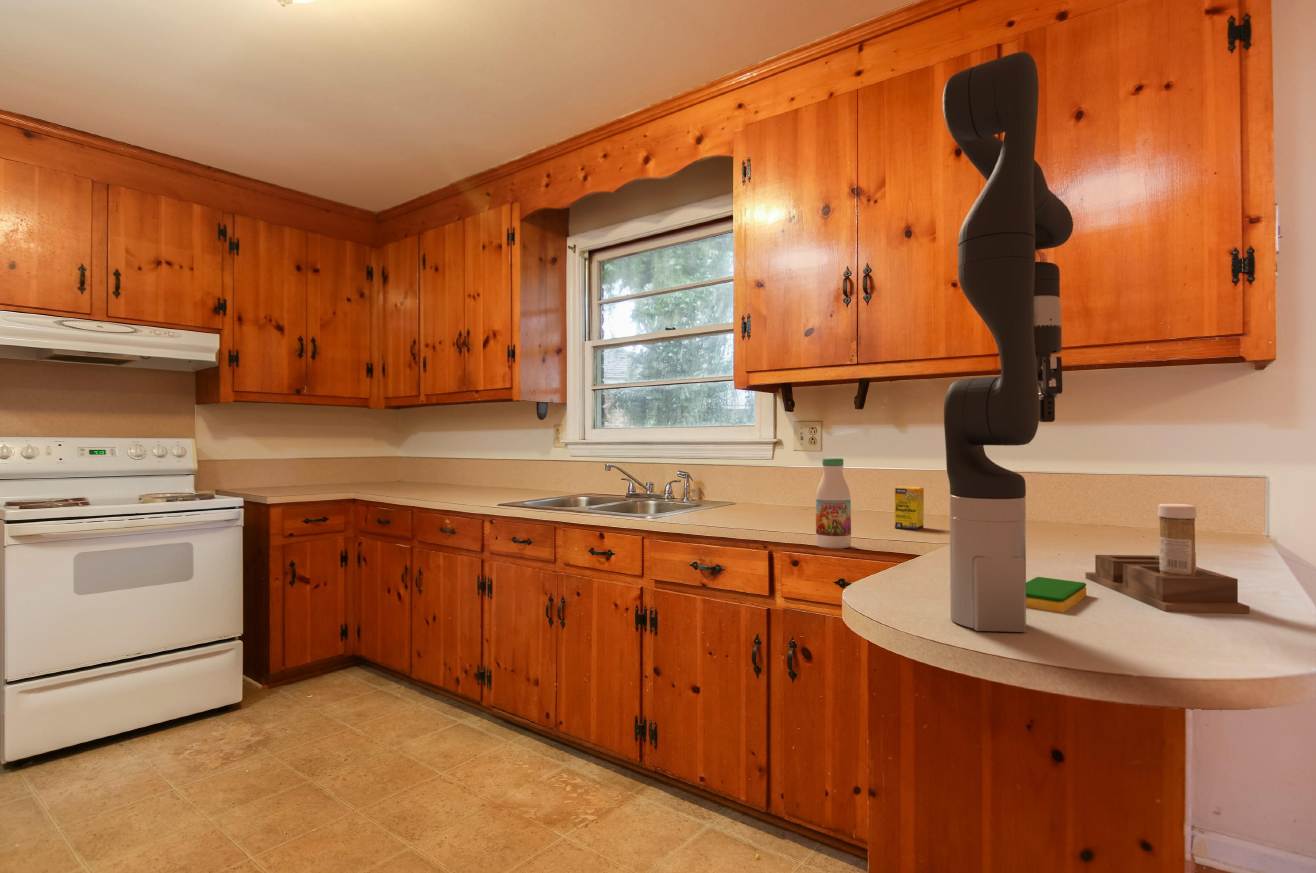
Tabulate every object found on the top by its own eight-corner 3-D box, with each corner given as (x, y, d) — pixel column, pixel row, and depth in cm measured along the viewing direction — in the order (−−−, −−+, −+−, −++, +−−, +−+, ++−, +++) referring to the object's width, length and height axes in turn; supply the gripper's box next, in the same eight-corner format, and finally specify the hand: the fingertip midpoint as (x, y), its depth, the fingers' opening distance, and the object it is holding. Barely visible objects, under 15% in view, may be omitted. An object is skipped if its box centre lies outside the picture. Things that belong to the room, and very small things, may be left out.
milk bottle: (811, 543, 155) (810, 457, 155) (843, 543, 156) (843, 457, 156) (822, 549, 148) (821, 459, 148) (856, 548, 148) (855, 458, 148)
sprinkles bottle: (1201, 593, 101) (1201, 504, 101) (1189, 598, 98) (1189, 506, 98) (1165, 588, 105) (1165, 502, 105) (1153, 592, 102) (1152, 503, 102)
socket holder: (1249, 613, 95) (1249, 581, 94) (1165, 611, 96) (1165, 579, 96) (1153, 578, 116) (1153, 553, 116) (1085, 577, 118) (1085, 552, 118)
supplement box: (894, 528, 178) (894, 487, 178) (901, 525, 183) (901, 485, 183) (917, 530, 175) (917, 488, 175) (924, 527, 180) (923, 486, 180)
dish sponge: (1086, 597, 106) (1086, 582, 106) (1062, 615, 96) (1062, 598, 96) (1036, 590, 111) (1036, 576, 111) (1009, 606, 101) (1009, 590, 101)
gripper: (1079, 319, 106) (1079, 421, 106) (1041, 332, 120) (1041, 423, 120) (1028, 320, 107) (1029, 422, 107) (997, 333, 121) (997, 423, 121)
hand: (1035, 422), depth 113 cm, fingers open, 8 cm apart
